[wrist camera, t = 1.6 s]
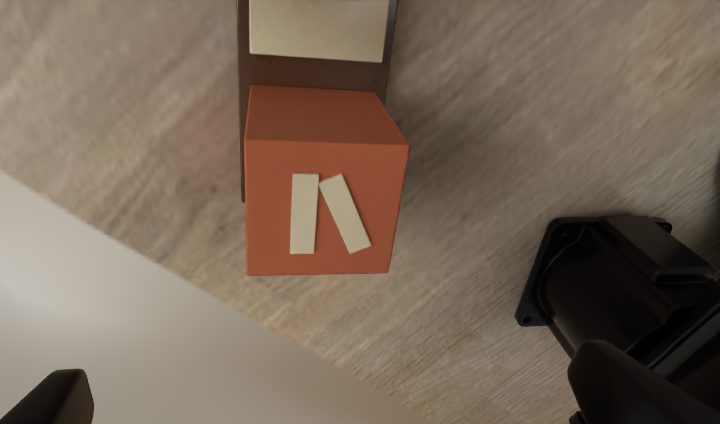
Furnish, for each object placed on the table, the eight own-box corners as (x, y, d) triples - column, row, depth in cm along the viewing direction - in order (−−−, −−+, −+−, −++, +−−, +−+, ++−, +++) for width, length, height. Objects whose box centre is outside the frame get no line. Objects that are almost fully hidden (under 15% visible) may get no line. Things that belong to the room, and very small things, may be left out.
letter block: (362, 197, 19) (389, 276, 15) (252, 196, 18) (246, 279, 14) (375, 91, 17) (412, 147, 12) (250, 83, 16) (243, 140, 12)
